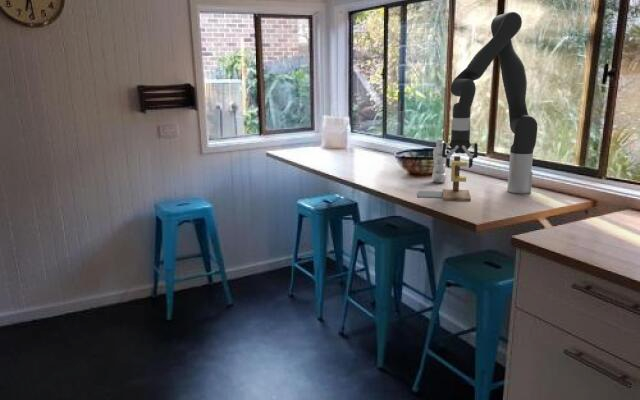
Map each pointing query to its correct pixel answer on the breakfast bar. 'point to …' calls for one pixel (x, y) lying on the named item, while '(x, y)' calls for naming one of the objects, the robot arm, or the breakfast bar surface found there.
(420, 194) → the mat
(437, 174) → the plastic bottle
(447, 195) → the stand
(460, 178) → the c link
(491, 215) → the breakfast bar surface
